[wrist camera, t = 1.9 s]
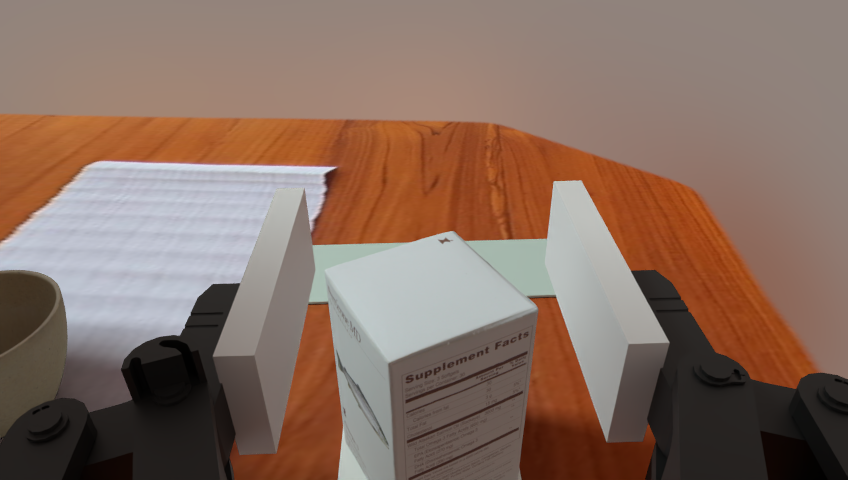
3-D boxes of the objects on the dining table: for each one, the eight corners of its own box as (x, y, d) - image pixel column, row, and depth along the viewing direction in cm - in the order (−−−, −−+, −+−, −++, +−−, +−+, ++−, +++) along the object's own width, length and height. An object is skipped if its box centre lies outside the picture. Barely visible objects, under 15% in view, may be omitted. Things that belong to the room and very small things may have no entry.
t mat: (695, 545, 30) (696, 542, 30) (165, 564, 29) (164, 561, 29) (566, 240, 53) (567, 238, 53) (271, 248, 53) (271, 246, 53)
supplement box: (342, 443, 35) (318, 264, 28) (453, 397, 38) (456, 224, 31) (397, 553, 29) (384, 363, 23) (522, 489, 32) (544, 303, 26)
